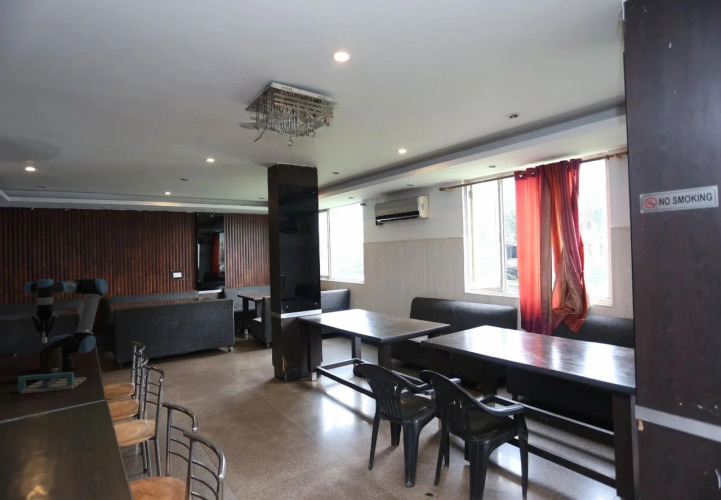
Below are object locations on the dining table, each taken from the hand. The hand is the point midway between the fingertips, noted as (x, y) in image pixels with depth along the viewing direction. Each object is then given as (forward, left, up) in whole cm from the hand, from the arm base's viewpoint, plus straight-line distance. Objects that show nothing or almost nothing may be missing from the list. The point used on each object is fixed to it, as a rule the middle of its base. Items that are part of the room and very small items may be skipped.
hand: (44, 342), depth 241 cm
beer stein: (-12, -3, -25) cm, 28 cm away
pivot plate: (+10, +10, -24) cm, 28 cm away
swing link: (+11, +8, -22) cm, 26 cm away
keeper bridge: (+16, +8, -24) cm, 30 cm away
